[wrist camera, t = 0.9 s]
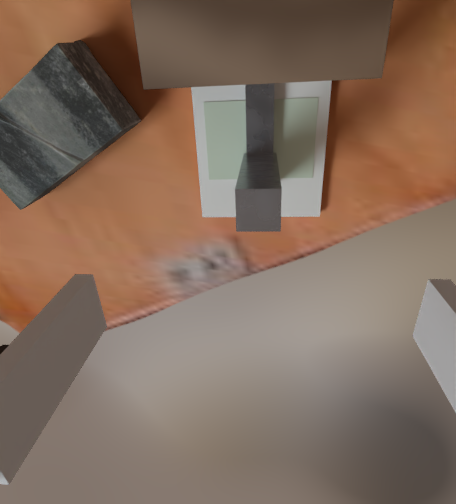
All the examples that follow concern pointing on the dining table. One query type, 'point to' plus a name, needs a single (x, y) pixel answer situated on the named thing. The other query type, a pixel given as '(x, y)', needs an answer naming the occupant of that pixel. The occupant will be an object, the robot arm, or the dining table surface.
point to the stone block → (58, 122)
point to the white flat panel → (285, 144)
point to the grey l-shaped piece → (259, 165)
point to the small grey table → (259, 41)
